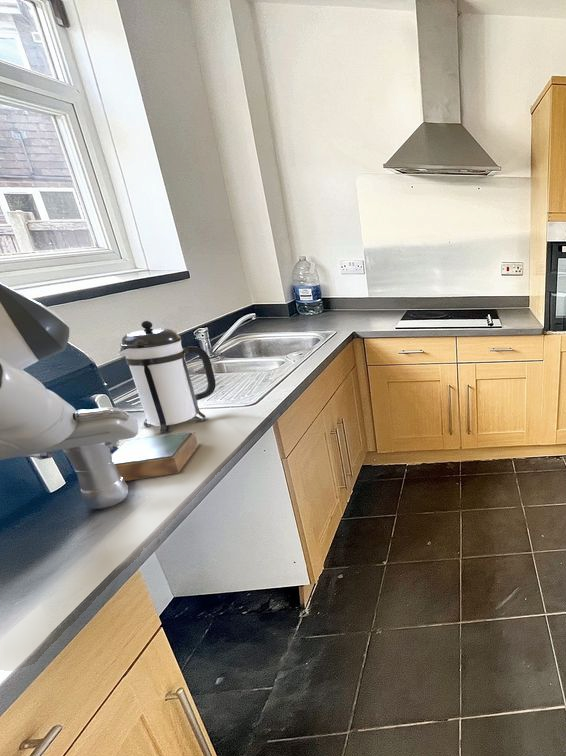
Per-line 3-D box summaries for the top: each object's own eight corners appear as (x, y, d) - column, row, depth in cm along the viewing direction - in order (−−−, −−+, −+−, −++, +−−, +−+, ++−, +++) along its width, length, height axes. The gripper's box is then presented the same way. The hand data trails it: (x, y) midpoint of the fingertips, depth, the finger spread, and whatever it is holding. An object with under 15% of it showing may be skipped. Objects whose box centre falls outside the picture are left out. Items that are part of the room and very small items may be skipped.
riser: (102, 484, 91) (95, 467, 89) (131, 455, 103) (126, 439, 102) (178, 472, 95) (173, 456, 94) (198, 445, 108) (194, 430, 106)
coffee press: (196, 431, 116) (166, 325, 106) (129, 436, 112) (92, 327, 102) (223, 407, 132) (199, 313, 121) (166, 411, 128) (136, 315, 118)
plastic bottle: (128, 505, 84) (95, 415, 77) (82, 517, 80) (43, 423, 73) (133, 490, 89) (102, 404, 82) (90, 501, 85) (54, 411, 78)
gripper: (120, 392, 72) (151, 422, 83) (-55, 414, 63) (7, 445, 74) (120, 425, 70) (152, 451, 81) (-61, 453, 61) (3, 478, 72)
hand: (81, 448), depth 78 cm, fingers open, 8 cm apart
